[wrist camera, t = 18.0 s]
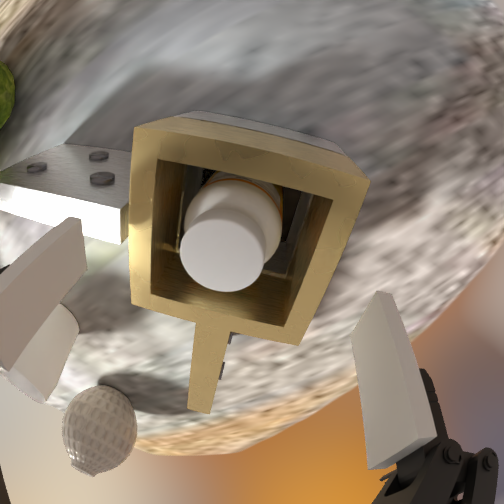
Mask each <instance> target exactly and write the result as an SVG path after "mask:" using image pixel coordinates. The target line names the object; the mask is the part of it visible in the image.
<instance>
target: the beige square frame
mask: <svg viewBox="0 0 504 504" xmlns="http://www.w3.org/2000/svg"><path fill="white" fill-rule="evenodd" d="M186 164H188V165H193V166H198V167H203V168H208V169H213V170H217V171H222V172H227V173H231V174H236V175H240V176H244V177H249V178H253V179H257V180H261V181H265V182H269V183H273V184H277V185H281V186H285V187H289V188H293V189H296V190H300V191H304V192H308V193H311V194H314V195H313V198H312V202H311V205H310V208H309V211H308V214H307V217H306V220H305V223H304V226H303V229H302V232H301V235H300V238H299V241H298V244H297V247H296V250H295V252H294V255H293V258H292V261H291V264H290V267H289V270H288V273H287V275H286V278H280V277H276V276H272V275H268V274H263V273H260V275H259V277H258V278H257V279H256V280H255V281H254V282H253V283H252V284H251V285H249V286H248V287H246V288H243V289H241V290H237V291H231V292H222V291H216V290H212V289H209V288H207V287H204V286H203V285H201V284H199V283H198V282H196V281H195V280H194V279H193V278H192V277H191V276H190V275H189V274H188V272H187V271H186V269H185V268H184V266H183V264H182V261H181V257H180V253H178V252H176V242H177V231H178V222H179V212H180V203H181V195H182V187H183V179H184V172H185V165H186ZM370 182H371V181H370V180H369V178H368V177H367V176H366V175H365V174H364V173H363V172H362V171H361V170H360V169H359V167H358V166H357V165H356V164H355V163H354V162H353V161H352V160H351V159H350V158H349V157H347V156H344V155H341V154H338V153H335V152H331V151H328V150H325V149H321V148H318V147H315V146H311V145H308V144H304V143H301V142H297V141H293V140H289V139H285V138H282V137H278V136H274V135H269V134H265V133H261V132H257V131H252V130H247V129H243V128H238V127H233V126H228V125H223V124H217V123H212V122H206V121H200V120H194V119H188V118H181V117H174V116H171V117H167V118H163V119H160V120H156V121H153V122H149V123H146V124H142V125H139V126H136V127H134V134H133V144H132V156H131V170H130V189H129V269H130V288H131V303H132V304H133V305H136V306H140V307H143V308H146V309H149V310H153V311H156V312H160V313H163V314H166V315H170V316H173V317H177V318H181V319H184V320H188V321H192V322H195V323H196V327H195V335H194V344H193V353H192V362H191V371H190V381H189V391H188V402H187V409H190V410H193V411H197V412H201V413H205V414H210V410H211V407H212V403H213V399H214V395H215V391H216V387H217V383H218V379H219V380H221V377H222V373H223V369H224V364H225V362H223V359H224V355H225V351H226V347H227V344H230V343H231V339H232V335H233V332H235V333H240V334H244V335H248V336H253V337H258V338H262V339H267V340H272V341H277V342H282V343H287V344H292V345H297V346H299V344H300V342H301V340H302V338H303V336H304V334H305V332H306V330H307V328H308V326H309V324H310V322H311V320H312V318H313V316H314V314H315V312H316V310H317V308H318V306H319V304H320V302H321V299H322V297H323V295H324V293H325V291H326V289H327V287H328V284H329V282H330V280H331V278H332V276H333V273H334V271H335V269H336V267H337V264H338V262H339V260H340V257H341V255H342V253H343V250H344V248H345V246H346V243H347V241H348V239H349V236H350V234H351V231H352V229H353V226H354V224H355V221H356V219H357V216H358V214H359V211H360V209H361V206H362V204H363V201H364V198H365V196H366V193H367V190H368V188H369V185H370Z"/></svg>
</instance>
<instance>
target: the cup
mask: <svg viewBox="0 0 504 504" xmlns="http://www.w3.org/2000/svg"><path fill="white" fill-rule="evenodd" d="M78 333H79V325H78V323H77V321H76V319H75V317H74V316H73V315H72V313H71V312H70V311H69V310H68V309H67V308H66V307H65V306H63V305H62V304H60V303H59V304H58V305H57V306H56V308H55V309H54V310H53V311H52V313H51V314H50V315H49V316H48V318H47V319H46V320H45V322H44V323H43V324H42V326H41V327H40V328H39V330H38V331H37V332H36V334H35V335H34V336H33V338H32V339H31V340H30V342H29V343H28V345H27V346H26V347H25V349H24V350H23V352H22V353H21V355H20V356H19V358H18V359H17V361H16V362H15V363H14V365H13V366H12V368H11V370H10V371H9V372H8V371H6V370H5V369H3V368H2V367H1V366H0V371H1V373H2V374H3V375H4V376H5V377H6V378H7V379H8V380H9V381H10V382H11V383H12V384H13V385H14V386H15V387H17V388H18V389H19V390H20V391H22V392H23V393H24V394H25V395H27V396H28V397H30V398H32V399H33V400H35V401H37V402H40V403H46V401H47V399H48V398H49V396H50V395H51V393H52V392H53V390H54V389H55V387H56V386H57V383H58V381H59V378H60V376H61V373H62V371H63V368H64V366H65V363H66V361H67V358H68V356H69V354H70V351H71V349H72V346H73V344H74V342H75V340H76V337H77V335H78Z"/></svg>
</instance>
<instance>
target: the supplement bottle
mask: <svg viewBox="0 0 504 504" xmlns="http://www.w3.org/2000/svg"><path fill="white" fill-rule="evenodd" d="M282 215H283V186H281V185H277V184H273V183H269V182H265V181H261V180H257V179H253V178H249V177H244V176H240V175H236V174H231V173H227V172H222V171H217V170H216V171H215V172H214V173H213V175H212V176H211V177H210V178H209V180H208V181H207V182H206V183H205V184H204V186H203V187H202V188H201V189H200V191H199V192H198V193H197V194H196V196H195V197H194V198H193V200H192V201H191V203H190V205H189V206H188V209H187V211H186V215H185V220H184V231H185V234H184V236H183V238H182V241H181V245H180V257H181V261H182V264H183V266H184V268H185V269H186V271H187V272H188V274H189V275H190V276H191V277H192V278H193V279H194V280H195V281H196V282H198V283H199V284H201V285H203V286H204V287H207V288H209V289H212V290H216V291H222V292H231V291H237V290H241V289H243V288H246V287H248V286H249V285H251V284H252V283H253V282H254V281H255V280H256V279H257V278H258V277H259V275H260V273H261V272H262V269H263V266H264V263H266V262H267V261H268V260H269V259H270V258H271V257H272V256H273V254H274V253H275V251H276V250H277V248H278V245H279V243H280V239H281V233H282Z"/></svg>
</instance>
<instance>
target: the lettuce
mask: <svg viewBox="0 0 504 504" xmlns="http://www.w3.org/2000/svg"><path fill="white" fill-rule="evenodd" d="M14 103H15V84H14V77H13V75H12V73H11V72H10V70H9V68H8V67H7V66H6V65H5V64H4V63H3V62H1V61H0V130H1V128H2V127H3V125H4V124H5V122H6V121H7V119H8V118H9V117H10V114H11V111H12V109H13V106H14Z"/></svg>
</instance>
